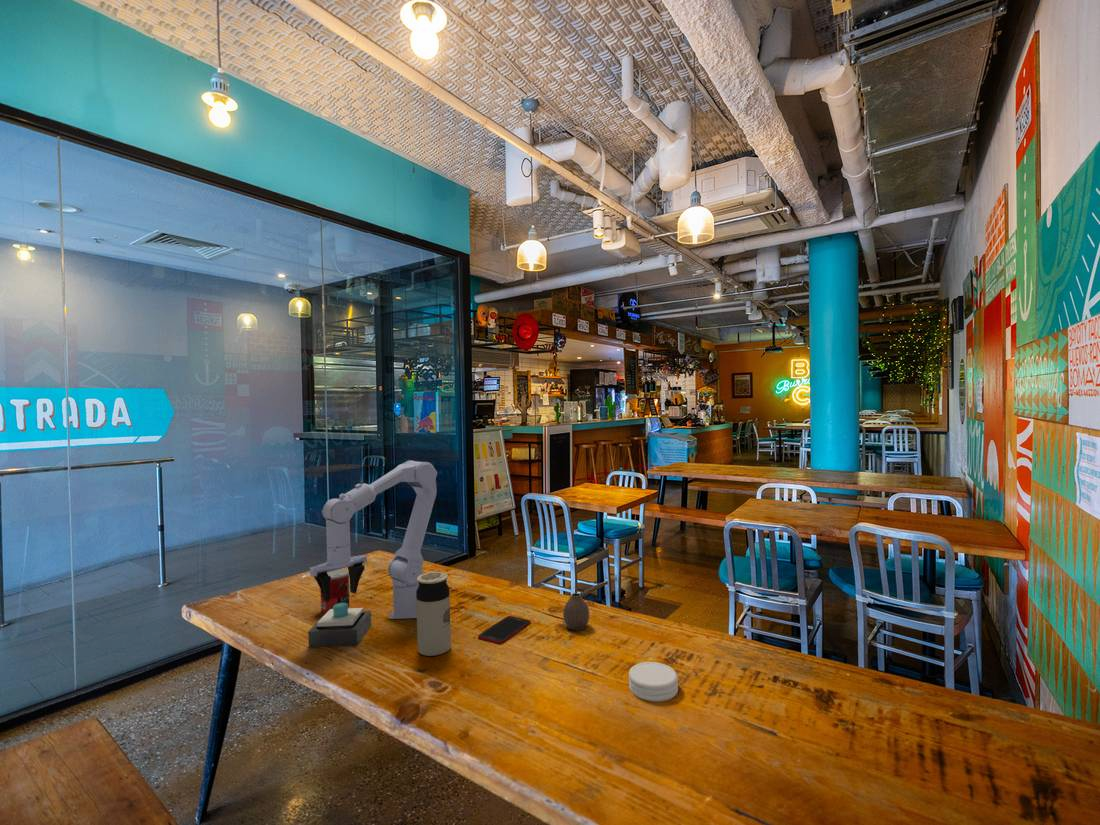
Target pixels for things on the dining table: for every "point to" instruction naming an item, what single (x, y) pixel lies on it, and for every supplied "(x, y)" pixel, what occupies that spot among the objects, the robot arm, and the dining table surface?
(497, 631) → the cell phone
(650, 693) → the coaster
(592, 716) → the dining table surface
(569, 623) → the vase
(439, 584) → the travel mug
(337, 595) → the canned food
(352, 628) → the press housing
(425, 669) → the dining table surface
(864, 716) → the dining table surface
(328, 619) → the plunger
